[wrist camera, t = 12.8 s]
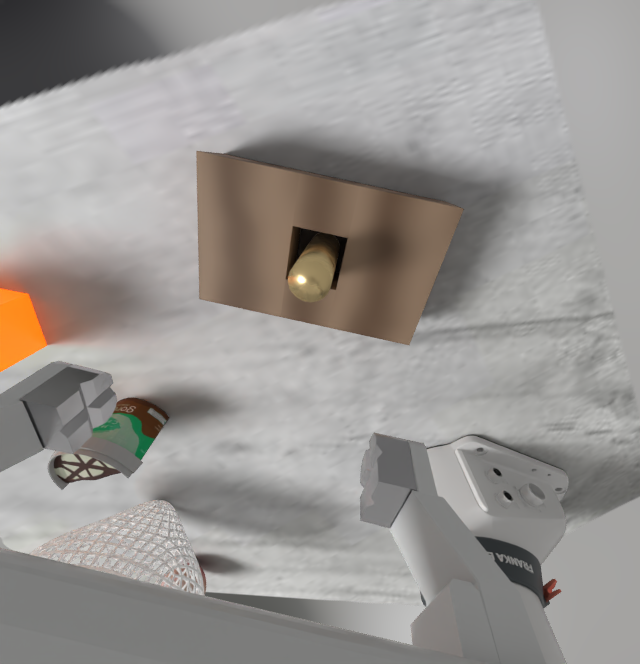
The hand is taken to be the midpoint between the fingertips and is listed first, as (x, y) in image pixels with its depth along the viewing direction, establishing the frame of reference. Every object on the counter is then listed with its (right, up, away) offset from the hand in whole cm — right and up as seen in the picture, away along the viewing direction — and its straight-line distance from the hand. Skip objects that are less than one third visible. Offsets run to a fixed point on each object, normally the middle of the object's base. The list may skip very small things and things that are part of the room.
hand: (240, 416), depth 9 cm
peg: (+3, +11, +20) cm, 23 cm away
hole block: (+3, +11, +20) cm, 23 cm away
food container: (-25, -9, +35) cm, 44 cm away
